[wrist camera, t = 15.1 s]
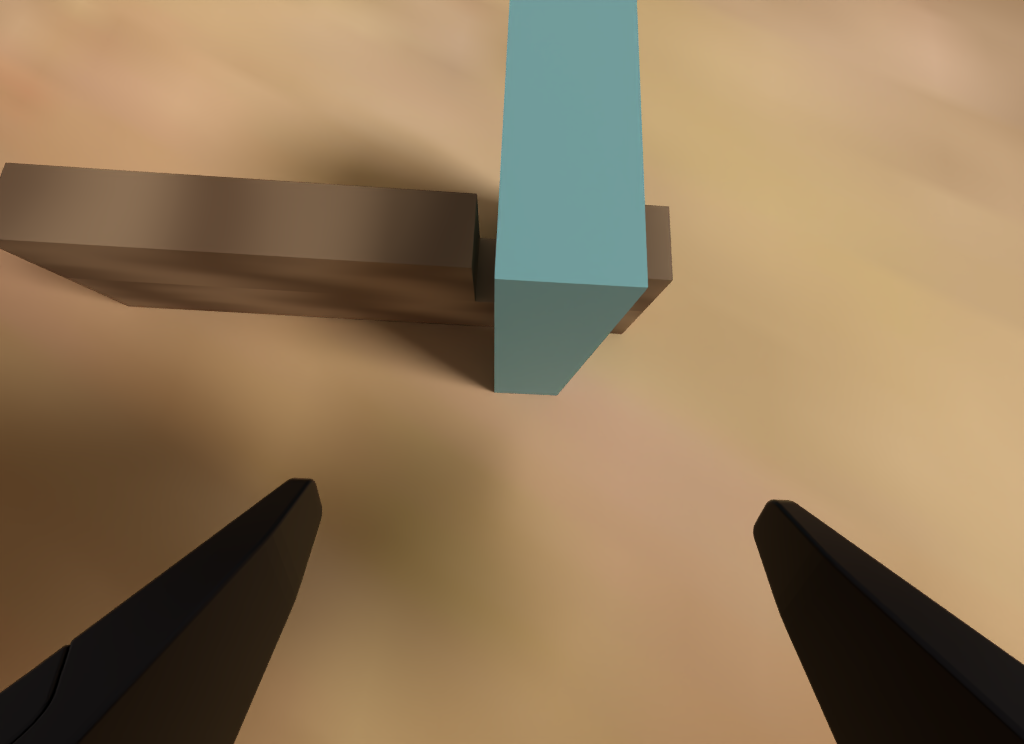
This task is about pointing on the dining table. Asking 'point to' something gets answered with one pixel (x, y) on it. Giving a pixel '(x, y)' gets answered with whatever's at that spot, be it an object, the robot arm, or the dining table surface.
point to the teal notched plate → (567, 189)
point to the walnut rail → (270, 244)
